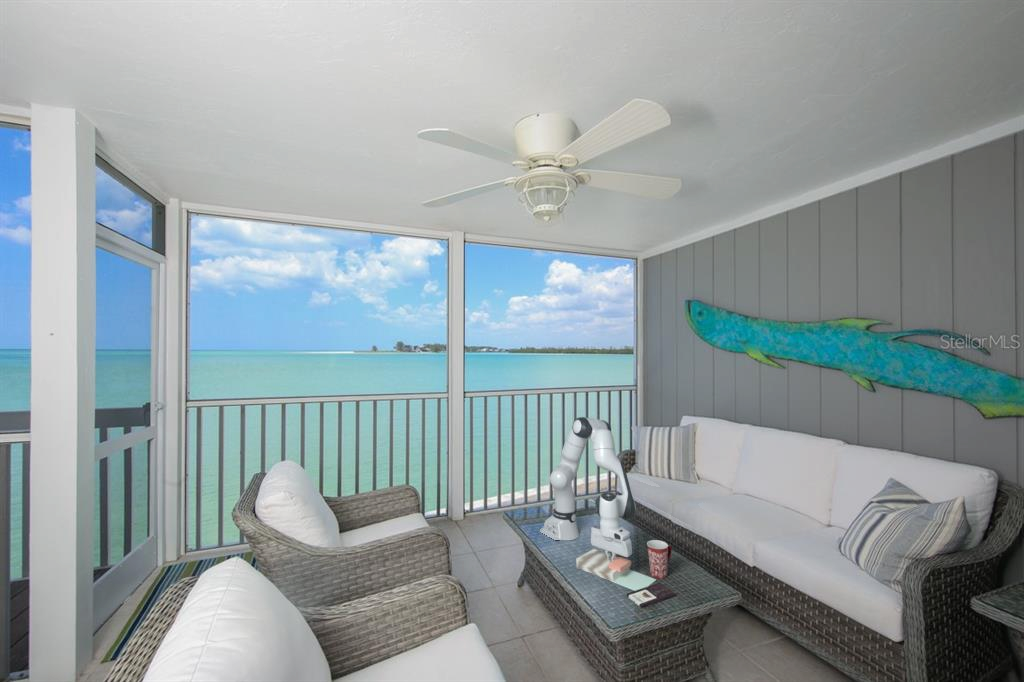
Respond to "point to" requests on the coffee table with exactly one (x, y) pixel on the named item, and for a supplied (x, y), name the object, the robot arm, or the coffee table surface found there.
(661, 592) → the chocolate bar
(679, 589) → the coffee table surface
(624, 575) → the mat
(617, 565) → the salmon pink eraser
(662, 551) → the mug
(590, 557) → the striped beige block
